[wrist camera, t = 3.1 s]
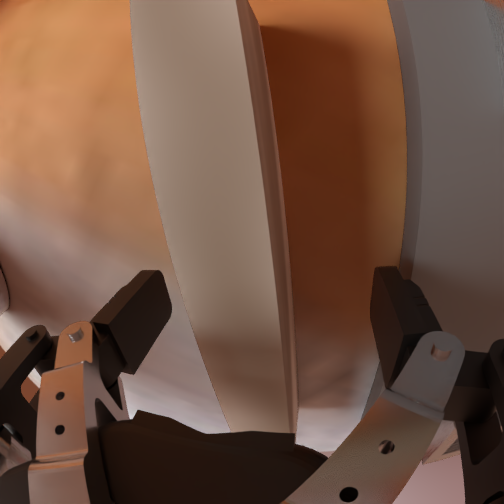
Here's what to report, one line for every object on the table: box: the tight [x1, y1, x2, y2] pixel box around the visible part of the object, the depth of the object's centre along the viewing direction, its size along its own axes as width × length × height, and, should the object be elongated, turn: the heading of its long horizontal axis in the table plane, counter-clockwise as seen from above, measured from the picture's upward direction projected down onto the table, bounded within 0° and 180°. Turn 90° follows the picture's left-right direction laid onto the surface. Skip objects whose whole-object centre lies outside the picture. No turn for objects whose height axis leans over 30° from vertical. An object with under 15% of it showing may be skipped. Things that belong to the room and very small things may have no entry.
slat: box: [130, 0, 299, 442], centre depth 10 cm, size 2×20×5 cm, turn 8°
